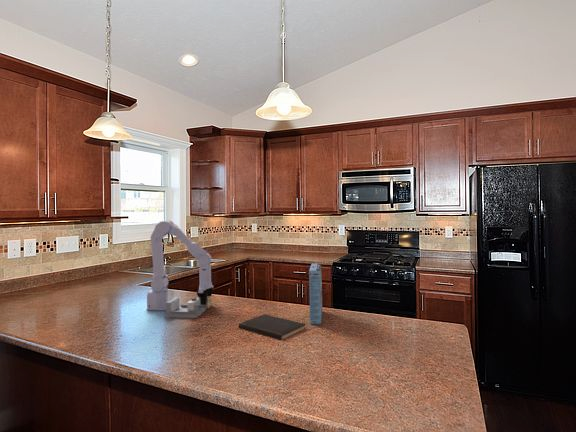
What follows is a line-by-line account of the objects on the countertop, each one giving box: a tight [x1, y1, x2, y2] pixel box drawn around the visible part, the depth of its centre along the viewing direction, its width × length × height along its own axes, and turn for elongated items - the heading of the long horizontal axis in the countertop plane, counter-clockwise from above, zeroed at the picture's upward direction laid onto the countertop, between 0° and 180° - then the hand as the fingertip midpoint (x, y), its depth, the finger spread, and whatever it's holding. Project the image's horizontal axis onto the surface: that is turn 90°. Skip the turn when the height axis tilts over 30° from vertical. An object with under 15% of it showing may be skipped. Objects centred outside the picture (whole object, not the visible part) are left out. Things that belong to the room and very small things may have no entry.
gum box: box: [308, 263, 323, 325], centre depth 156 cm, size 20×5×23 cm, turn 172°
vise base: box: [164, 296, 207, 319], centre depth 165 cm, size 15×12×6 cm
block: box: [206, 295, 212, 309], centre depth 176 cm, size 4×5×5 cm
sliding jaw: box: [186, 296, 201, 311], centre depth 164 cm, size 3×9×6 cm, turn 174°
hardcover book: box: [238, 313, 307, 341], centre depth 143 cm, size 16×23×2 cm
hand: (205, 303), depth 176 cm, fingers open, 6 cm apart
